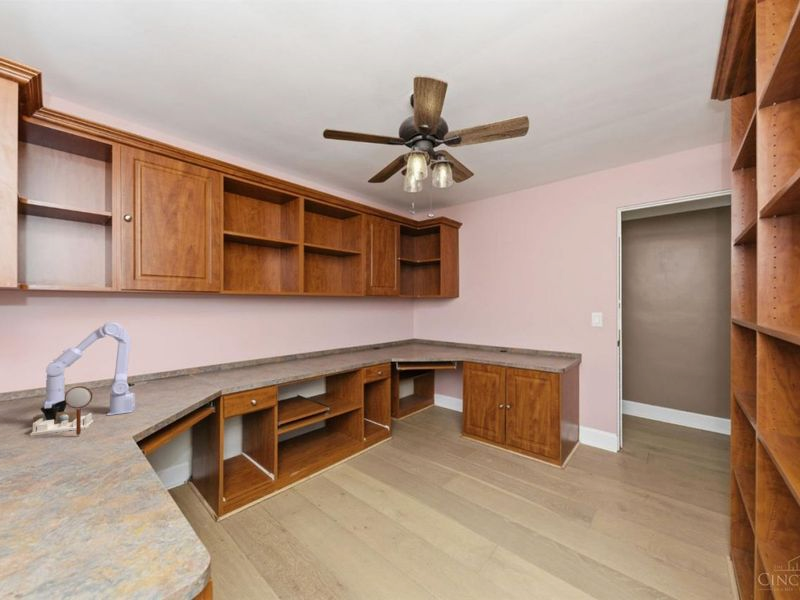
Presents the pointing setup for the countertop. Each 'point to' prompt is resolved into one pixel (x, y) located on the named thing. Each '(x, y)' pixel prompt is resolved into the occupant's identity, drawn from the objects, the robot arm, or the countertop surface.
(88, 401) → the magnifying glass
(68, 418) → the tan wooden plank
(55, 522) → the countertop surface
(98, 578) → the countertop surface
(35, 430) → the display stand
